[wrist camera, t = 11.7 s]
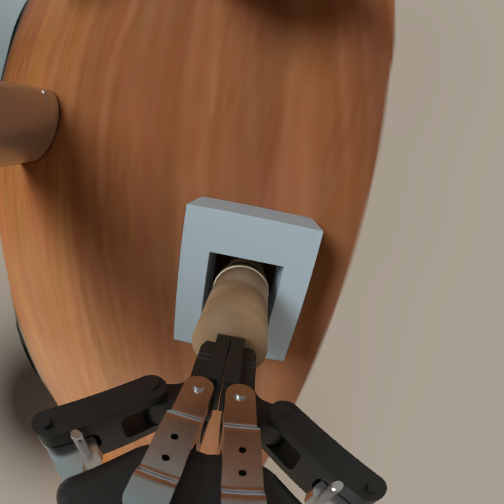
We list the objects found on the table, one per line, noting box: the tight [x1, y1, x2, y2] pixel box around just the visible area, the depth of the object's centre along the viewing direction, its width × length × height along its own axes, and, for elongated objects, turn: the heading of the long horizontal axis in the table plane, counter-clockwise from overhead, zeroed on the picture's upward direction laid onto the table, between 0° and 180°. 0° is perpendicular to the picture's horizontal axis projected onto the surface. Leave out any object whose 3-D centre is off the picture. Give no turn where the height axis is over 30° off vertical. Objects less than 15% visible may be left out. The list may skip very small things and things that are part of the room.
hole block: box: [174, 196, 323, 361], centre depth 23 cm, size 12×10×5 cm
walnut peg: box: [192, 256, 269, 373], centre depth 20 cm, size 4×4×12 cm
